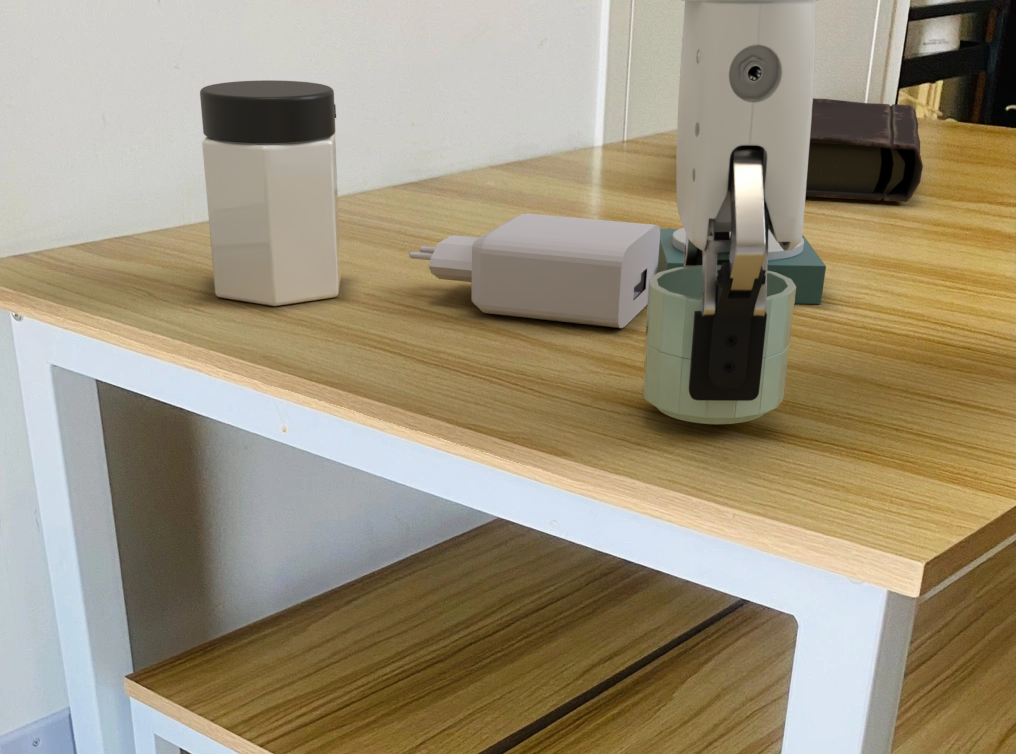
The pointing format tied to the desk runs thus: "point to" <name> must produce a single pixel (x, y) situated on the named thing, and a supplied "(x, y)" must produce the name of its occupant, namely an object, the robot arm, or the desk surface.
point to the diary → (863, 151)
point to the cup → (672, 346)
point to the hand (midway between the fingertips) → (714, 370)
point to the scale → (791, 264)
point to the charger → (554, 268)
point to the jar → (272, 190)
